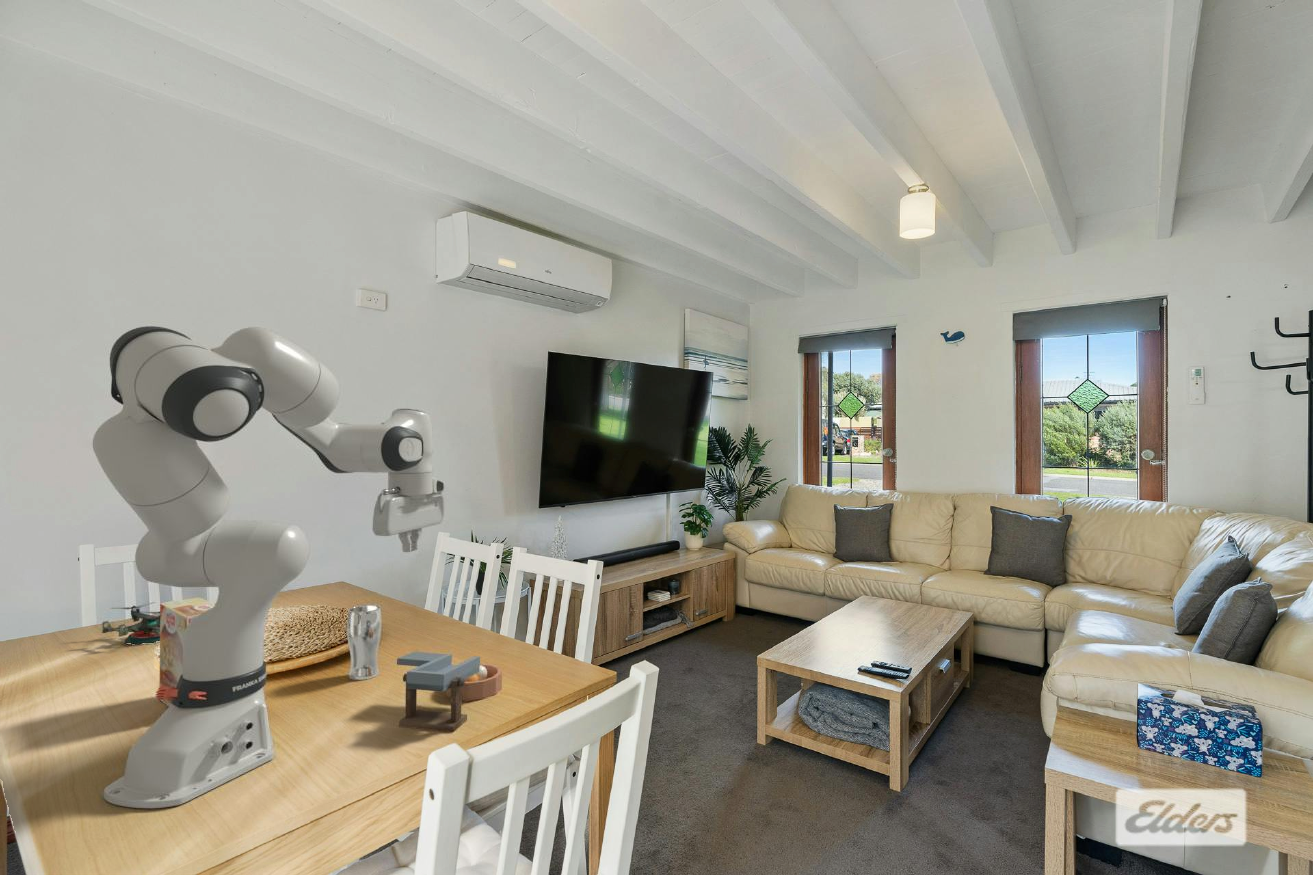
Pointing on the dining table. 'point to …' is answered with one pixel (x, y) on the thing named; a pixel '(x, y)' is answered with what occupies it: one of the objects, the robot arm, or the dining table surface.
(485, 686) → the round terracotta tray
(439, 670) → the tipping trough
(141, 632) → the toy helicopter
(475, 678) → the orange ball
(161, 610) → the coffeecake box
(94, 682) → the dining table surface
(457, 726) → the trough stand
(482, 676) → the cream ball
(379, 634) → the beer glass
